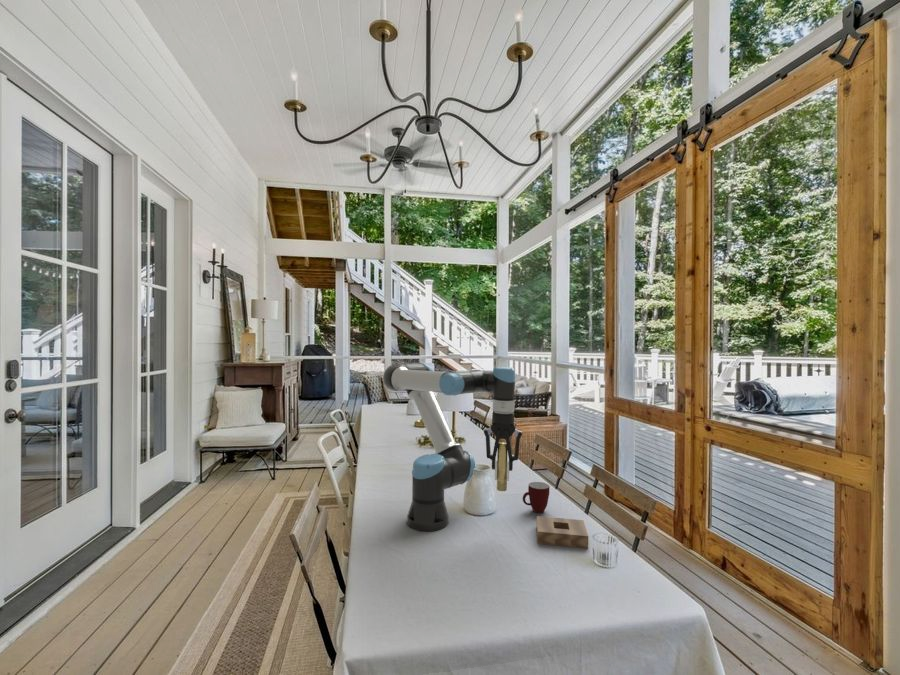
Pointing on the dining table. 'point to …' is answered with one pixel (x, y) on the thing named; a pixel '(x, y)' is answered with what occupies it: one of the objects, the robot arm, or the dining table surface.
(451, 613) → the dining table surface
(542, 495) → the mug
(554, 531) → the socket block
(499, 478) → the brass peg
